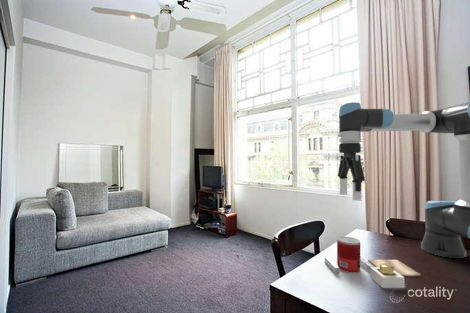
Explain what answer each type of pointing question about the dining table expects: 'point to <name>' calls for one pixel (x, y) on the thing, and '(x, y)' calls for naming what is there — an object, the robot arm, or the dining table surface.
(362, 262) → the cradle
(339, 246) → the canned food
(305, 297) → the dining table surface
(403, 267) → the mat
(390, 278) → the plunger block
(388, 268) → the plunger
